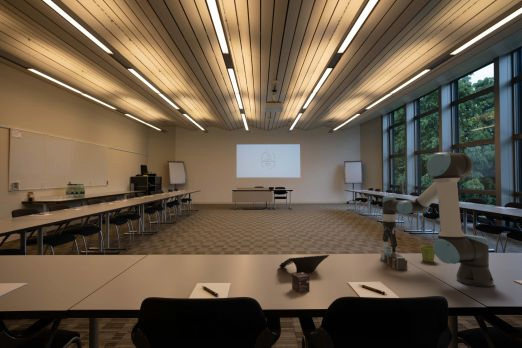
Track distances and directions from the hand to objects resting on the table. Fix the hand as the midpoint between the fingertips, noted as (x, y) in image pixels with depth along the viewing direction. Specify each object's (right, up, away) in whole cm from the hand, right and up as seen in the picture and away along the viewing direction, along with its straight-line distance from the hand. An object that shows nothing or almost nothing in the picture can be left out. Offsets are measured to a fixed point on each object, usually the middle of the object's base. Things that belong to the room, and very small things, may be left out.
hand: (389, 254), depth 188 cm
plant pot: (+24, -4, -1) cm, 24 cm away
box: (-63, -3, -50) cm, 80 cm away
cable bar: (-1, -3, -13) cm, 14 cm away
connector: (0, -3, 0) cm, 3 cm away
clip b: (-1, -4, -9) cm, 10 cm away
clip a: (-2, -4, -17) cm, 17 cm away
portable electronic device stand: (-58, -4, -20) cm, 62 cm away
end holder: (0, -4, 0) cm, 4 cm away
